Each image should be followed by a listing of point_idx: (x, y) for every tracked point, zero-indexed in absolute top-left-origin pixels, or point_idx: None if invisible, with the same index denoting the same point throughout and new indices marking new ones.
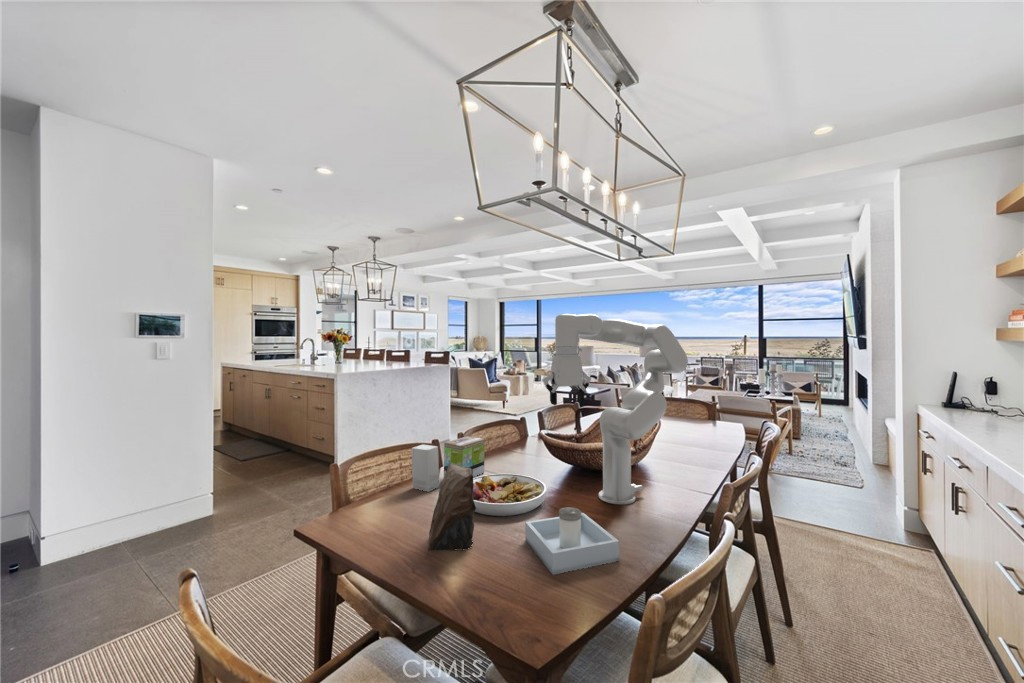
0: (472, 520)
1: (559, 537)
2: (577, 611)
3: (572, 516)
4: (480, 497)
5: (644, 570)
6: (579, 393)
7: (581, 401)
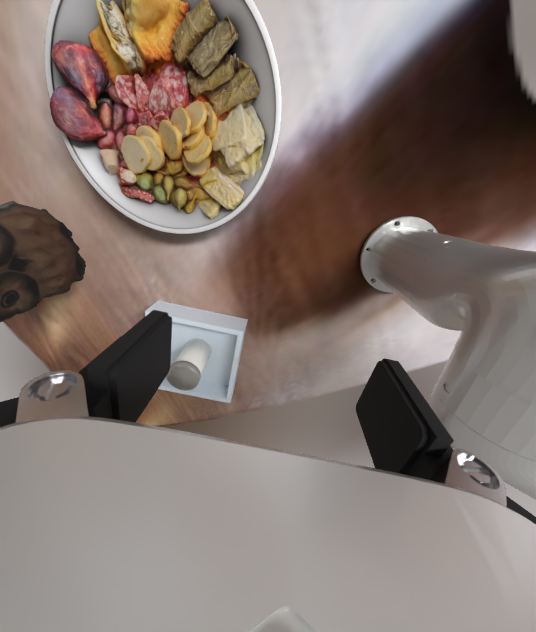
0: (50, 293)
1: (198, 327)
2: (154, 412)
3: (178, 388)
4: (101, 137)
5: (245, 406)
6: (391, 449)
7: (358, 416)
